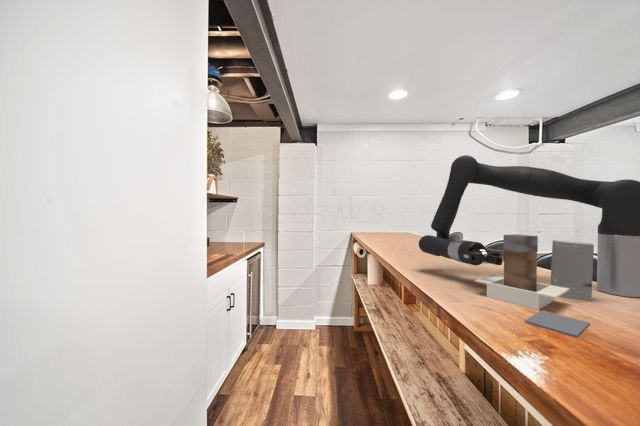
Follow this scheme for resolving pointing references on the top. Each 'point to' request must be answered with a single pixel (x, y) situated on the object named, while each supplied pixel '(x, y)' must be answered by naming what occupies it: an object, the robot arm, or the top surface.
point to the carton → (521, 293)
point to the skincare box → (573, 268)
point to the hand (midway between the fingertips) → (513, 260)
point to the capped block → (520, 261)
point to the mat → (558, 323)
